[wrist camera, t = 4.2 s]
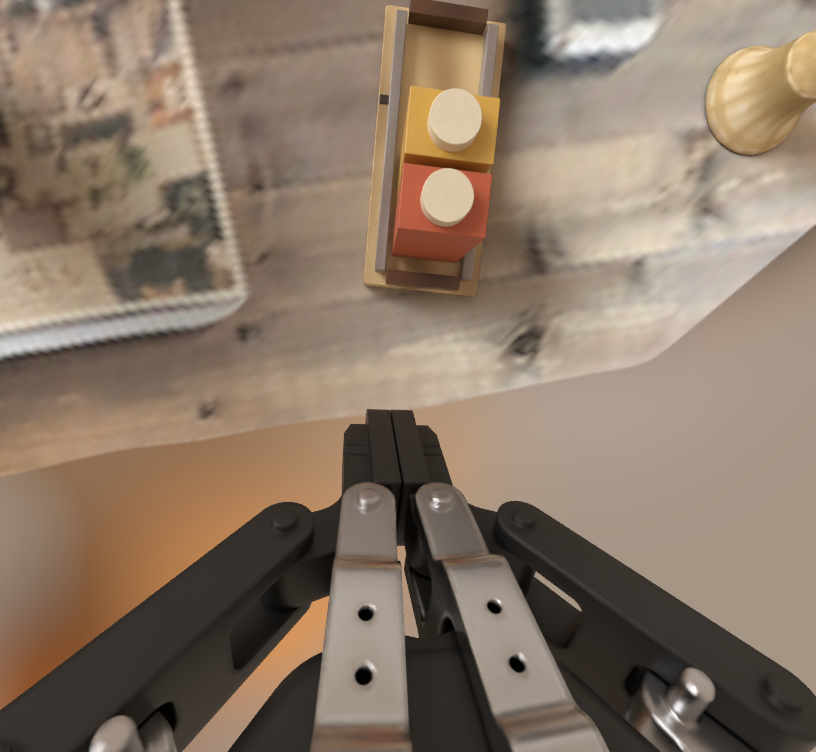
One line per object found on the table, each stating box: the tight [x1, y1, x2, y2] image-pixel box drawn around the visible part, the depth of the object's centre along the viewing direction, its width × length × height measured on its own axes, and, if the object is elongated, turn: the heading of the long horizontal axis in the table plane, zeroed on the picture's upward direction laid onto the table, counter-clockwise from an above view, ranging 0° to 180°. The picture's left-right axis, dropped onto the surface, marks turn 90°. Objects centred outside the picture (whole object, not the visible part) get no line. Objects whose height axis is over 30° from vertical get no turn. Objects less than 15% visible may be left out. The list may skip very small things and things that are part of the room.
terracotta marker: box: [392, 163, 492, 263], centre depth 28 cm, size 5×4×10 cm
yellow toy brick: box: [397, 86, 500, 199], centre depth 27 cm, size 5×4×10 cm
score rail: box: [363, 0, 506, 296], centre depth 32 cm, size 9×20×3 cm, turn 175°
